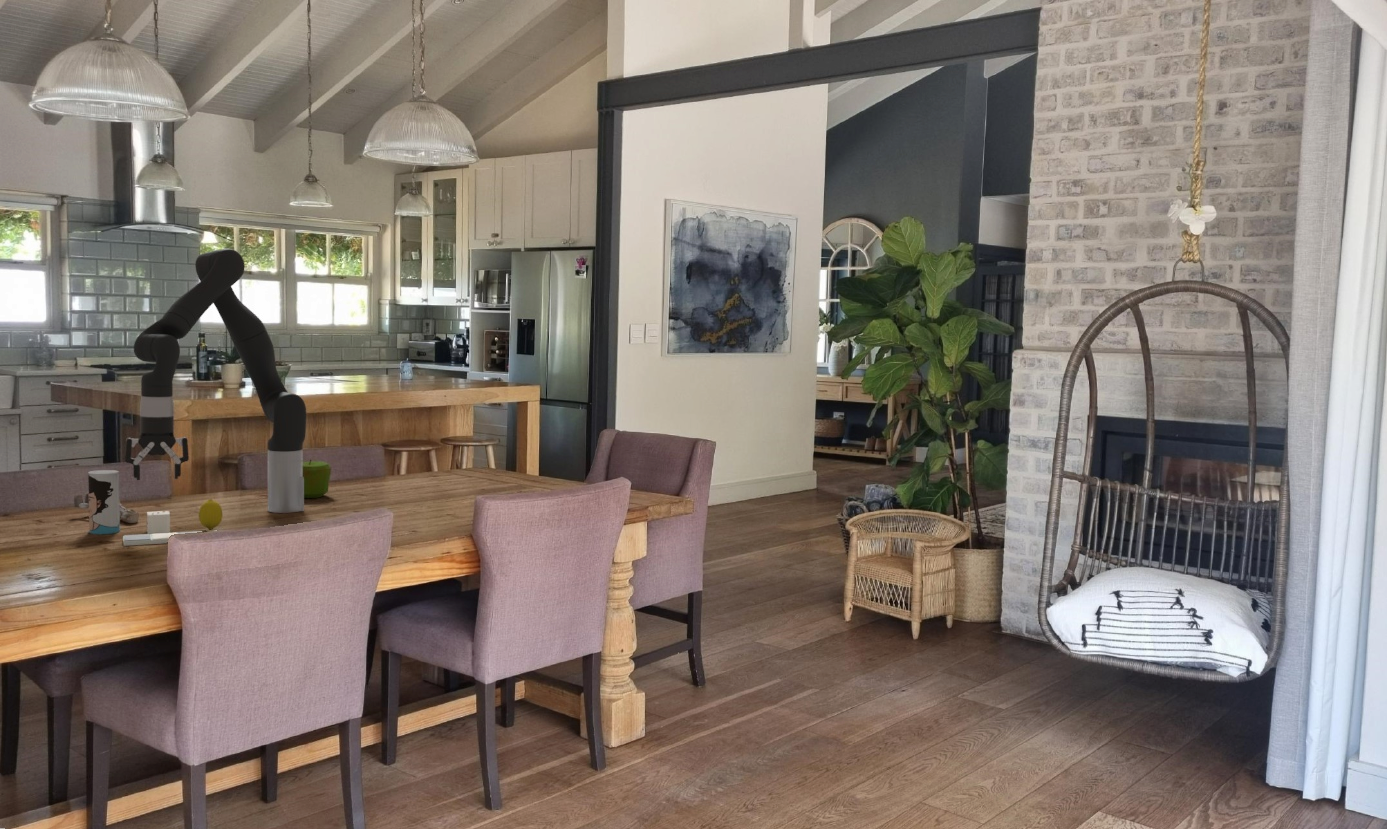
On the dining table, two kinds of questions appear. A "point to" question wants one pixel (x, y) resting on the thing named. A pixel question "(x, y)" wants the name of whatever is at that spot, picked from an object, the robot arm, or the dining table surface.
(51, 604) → the dining table surface
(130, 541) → the board
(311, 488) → the apple
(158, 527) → the off-white cube
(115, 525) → the cup
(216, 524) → the lemon
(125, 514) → the figurine
